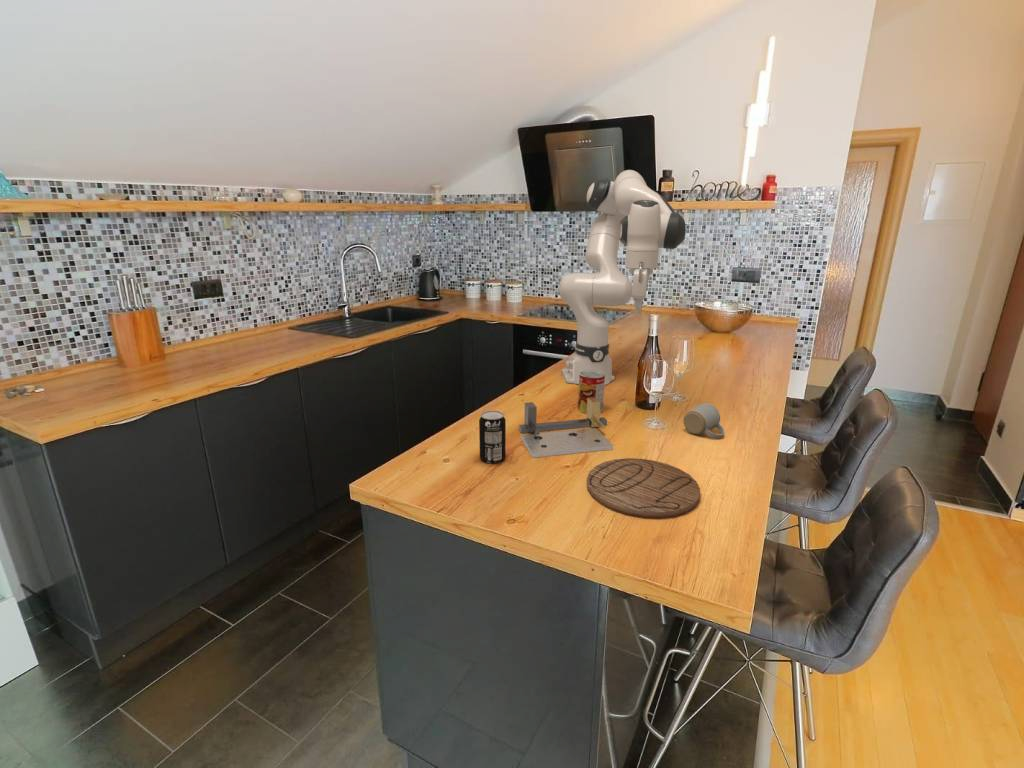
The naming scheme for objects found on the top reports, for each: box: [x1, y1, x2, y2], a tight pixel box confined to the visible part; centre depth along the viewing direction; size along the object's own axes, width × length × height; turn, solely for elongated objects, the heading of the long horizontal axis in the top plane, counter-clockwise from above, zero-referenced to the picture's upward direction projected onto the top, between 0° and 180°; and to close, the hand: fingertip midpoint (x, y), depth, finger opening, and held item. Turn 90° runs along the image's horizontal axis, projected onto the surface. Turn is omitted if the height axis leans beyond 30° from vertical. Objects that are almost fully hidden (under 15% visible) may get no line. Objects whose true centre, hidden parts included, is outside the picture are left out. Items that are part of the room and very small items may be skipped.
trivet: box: [586, 457, 701, 520], centre depth 122 cm, size 25×25×2 cm
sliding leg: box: [585, 397, 606, 430], centre depth 154 cm, size 10×2×8 cm, turn 13°
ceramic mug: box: [683, 402, 725, 440], centre depth 152 cm, size 11×8×8 cm
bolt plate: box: [520, 427, 614, 459], centre depth 145 cm, size 12×22×1 cm, turn 103°
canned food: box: [577, 370, 605, 415], centre depth 168 cm, size 8×8×12 cm
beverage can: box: [478, 410, 507, 464], centre depth 135 cm, size 7×7×12 cm
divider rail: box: [518, 401, 608, 435], centre depth 152 cm, size 10×26×8 cm, turn 103°
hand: (638, 310), depth 154 cm, fingers open, 8 cm apart
